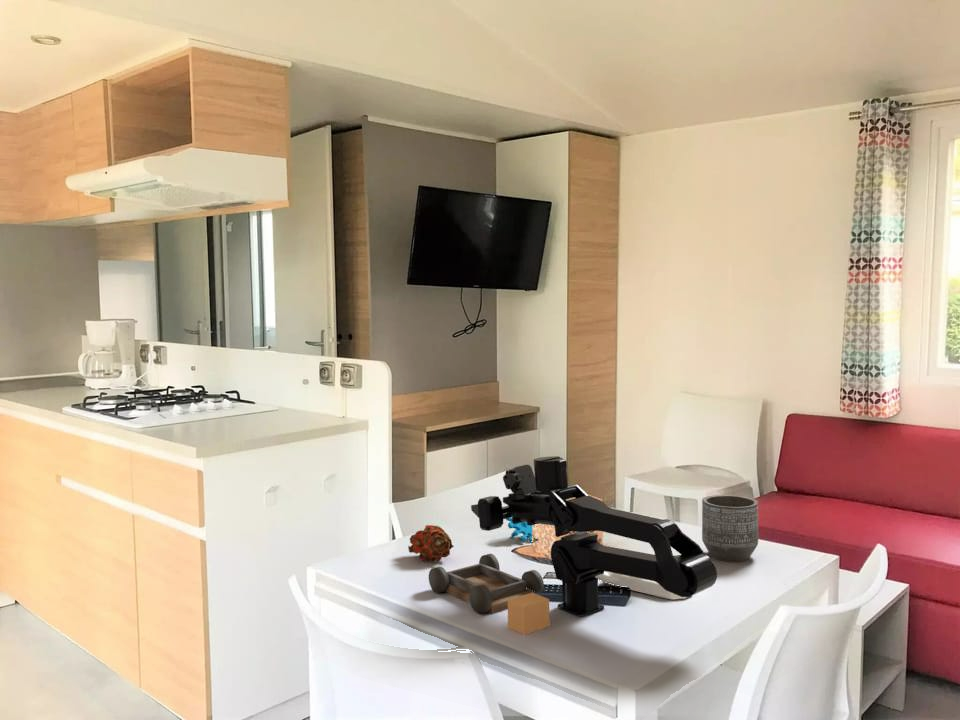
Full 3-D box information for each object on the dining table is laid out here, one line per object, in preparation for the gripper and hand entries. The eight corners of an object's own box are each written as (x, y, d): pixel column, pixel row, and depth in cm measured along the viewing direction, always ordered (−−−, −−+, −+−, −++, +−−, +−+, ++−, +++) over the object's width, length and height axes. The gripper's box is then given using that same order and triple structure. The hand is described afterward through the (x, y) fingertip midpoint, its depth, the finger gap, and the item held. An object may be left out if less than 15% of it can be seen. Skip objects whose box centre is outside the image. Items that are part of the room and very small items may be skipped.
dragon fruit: (449, 572, 180) (413, 569, 188) (467, 543, 186) (431, 541, 193) (430, 547, 177) (393, 545, 185) (448, 517, 182) (412, 517, 190)
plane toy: (680, 606, 154) (680, 577, 153) (588, 586, 166) (588, 558, 166) (701, 591, 162) (701, 562, 162) (613, 572, 174) (612, 545, 174)
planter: (770, 559, 180) (770, 503, 179) (728, 568, 175) (728, 509, 174) (731, 545, 191) (731, 492, 190) (690, 552, 186) (690, 498, 185)
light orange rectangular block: (549, 626, 145) (549, 599, 145) (524, 635, 142) (523, 607, 141) (533, 619, 149) (532, 592, 149) (508, 627, 145) (507, 600, 145)
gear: (520, 540, 193) (502, 505, 198) (506, 554, 196) (489, 519, 201) (552, 537, 200) (534, 504, 205) (538, 550, 203) (521, 517, 208)
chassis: (544, 598, 159) (543, 573, 159) (485, 616, 150) (485, 590, 150) (485, 574, 174) (484, 551, 174) (428, 589, 165) (428, 565, 165)
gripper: (569, 461, 165) (515, 459, 177) (504, 476, 153) (451, 472, 164) (573, 515, 165) (519, 510, 177) (509, 534, 153) (455, 527, 164)
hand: (487, 503), depth 171 cm, fingers open, 9 cm apart
